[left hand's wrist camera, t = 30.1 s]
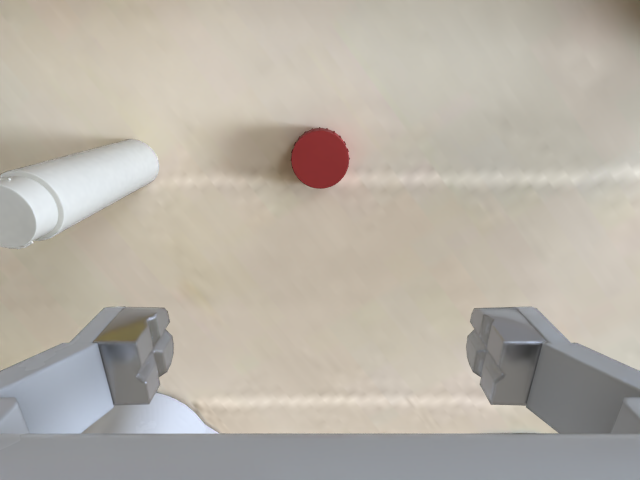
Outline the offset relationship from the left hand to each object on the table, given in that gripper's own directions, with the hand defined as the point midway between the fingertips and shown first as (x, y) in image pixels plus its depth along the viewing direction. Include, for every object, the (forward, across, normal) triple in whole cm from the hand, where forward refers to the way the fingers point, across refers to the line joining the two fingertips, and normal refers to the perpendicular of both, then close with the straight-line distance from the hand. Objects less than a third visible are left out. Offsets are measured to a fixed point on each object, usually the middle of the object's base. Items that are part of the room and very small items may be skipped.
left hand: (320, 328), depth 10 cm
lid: (+26, 0, 0) cm, 26 cm away
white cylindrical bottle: (+28, +18, +1) cm, 33 cm away
